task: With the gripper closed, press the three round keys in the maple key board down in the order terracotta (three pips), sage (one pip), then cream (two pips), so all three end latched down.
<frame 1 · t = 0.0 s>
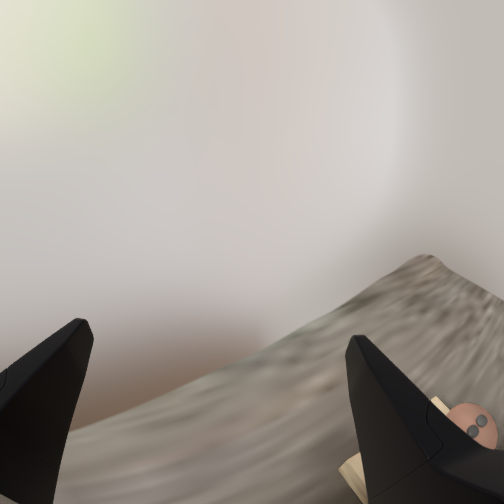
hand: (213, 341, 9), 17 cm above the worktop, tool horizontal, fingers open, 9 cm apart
key three: (452, 449, 14), point 5 cm above the worktop, slide at 0.0 cm
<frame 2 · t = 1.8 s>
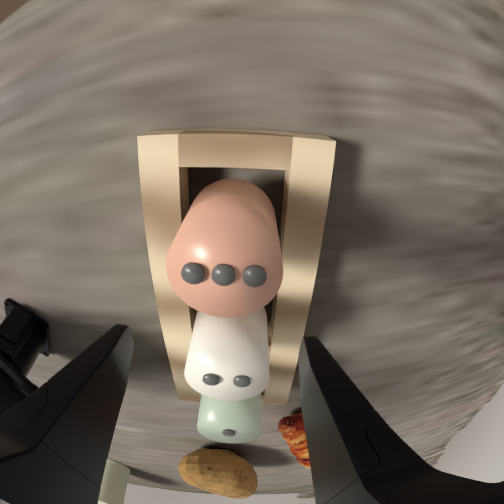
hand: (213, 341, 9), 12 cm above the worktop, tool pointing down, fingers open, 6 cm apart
potato: (220, 450, 40), on the worktop
key board: (233, 295, 23), on the worktop
key one: (230, 404, 22), point 5 cm above the worktop, slide at 0.0 cm
can: (112, 463, 51), on the worktop
key two: (229, 346, 19), point 5 cm above the worktop, slide at 0.0 cm
croissant: (324, 428, 36), on the worktop
key three: (228, 243, 15), point 5 cm above the worktop, slide at 0.0 cm
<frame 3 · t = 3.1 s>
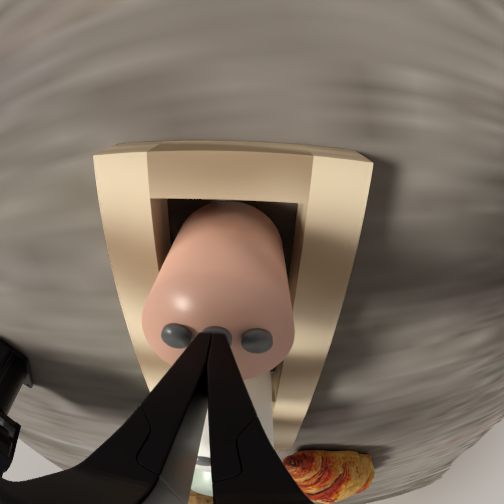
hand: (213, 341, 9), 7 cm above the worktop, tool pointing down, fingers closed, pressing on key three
potato: (219, 478, 36), on the worktop
key board: (230, 344, 19), on the worktop
key one: (228, 461, 18), point 5 cm above the worktop, slide at 0.0 cm
key two: (225, 417, 14), point 5 cm above the worktop, slide at 0.0 cm
croissant: (330, 459, 32), on the worktop
key three: (223, 287, 12), point 4 cm above the worktop, slide at 1.6 cm, touching gripper
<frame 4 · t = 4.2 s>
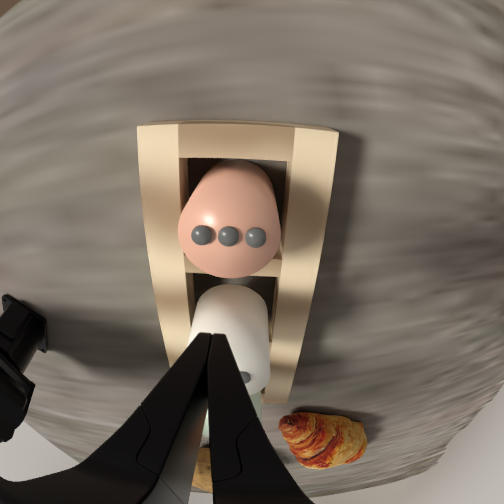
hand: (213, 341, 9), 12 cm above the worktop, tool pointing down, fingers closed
potato: (219, 449, 40), on the worktop
key board: (233, 290, 23), on the worktop
key one: (230, 402, 22), point 5 cm above the worktop, slide at 0.0 cm
key two: (228, 342, 18), point 5 cm above the worktop, slide at 0.0 cm
croissant: (325, 427, 36), on the worktop
key three: (232, 214, 17), point 3 cm above the worktop, slide at 2.6 cm
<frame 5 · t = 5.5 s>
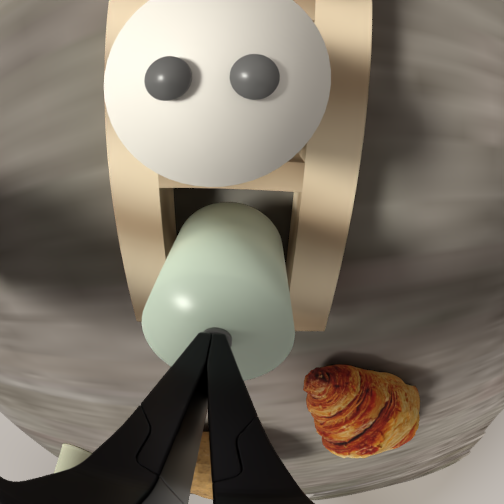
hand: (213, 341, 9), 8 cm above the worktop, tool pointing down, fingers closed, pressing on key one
potato: (213, 435, 29), on the worktop
key board: (235, 86, 12), on the worktop
key one: (223, 289, 12), point 5 cm above the worktop, slide at 0.2 cm, touching gripper
can: (84, 453, 40), on the worktop
key two: (224, 81, 8), point 5 cm above the worktop, slide at 0.0 cm
croissant: (363, 397, 25), on the worktop
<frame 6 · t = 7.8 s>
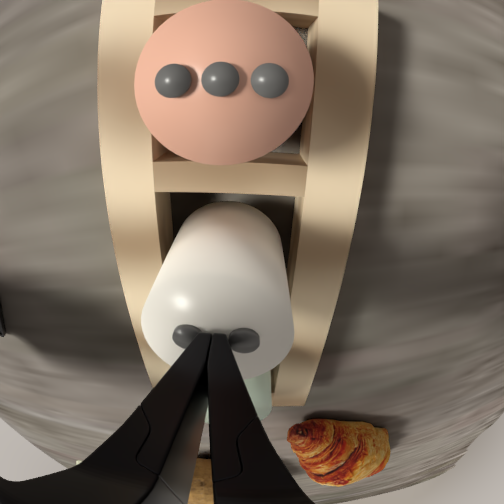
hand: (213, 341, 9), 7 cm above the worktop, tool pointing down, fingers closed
potato: (216, 459, 32), on the worktop
key board: (231, 234, 16), on the worktop
key one: (228, 370, 17), point 3 cm above the worktop, slide at 2.6 cm
key two: (223, 288, 12), point 5 cm above the worktop, slide at 0.9 cm, touching gripper
croissant: (341, 435, 29), on the worktop
key three: (229, 82, 9), point 3 cm above the worktop, slide at 2.6 cm
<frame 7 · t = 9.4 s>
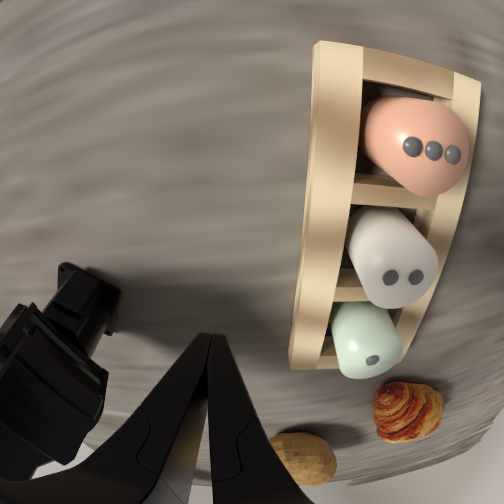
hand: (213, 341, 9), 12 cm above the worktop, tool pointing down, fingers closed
potato: (296, 434, 38), on the worktop
key board: (375, 233, 21), on the worktop
key one: (363, 334, 22), point 3 cm above the worktop, slide at 2.6 cm
key two: (388, 253, 18), point 3 cm above the worktop, slide at 2.6 cm
croissant: (404, 400, 34), on the worktop
key three: (410, 139, 14), point 3 cm above the worktop, slide at 2.6 cm
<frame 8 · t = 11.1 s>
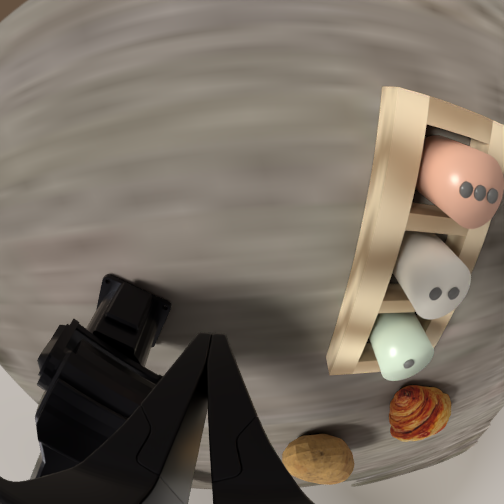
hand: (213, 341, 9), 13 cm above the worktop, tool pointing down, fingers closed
potato: (315, 436, 39), on the worktop
key board: (414, 253, 22), on the worktop
key one: (399, 341, 24), point 3 cm above the worktop, slide at 2.6 cm
key two: (428, 272, 20), point 3 cm above the worktop, slide at 2.6 cm
croissant: (415, 402, 36), on the worktop
key three: (456, 178, 16), point 3 cm above the worktop, slide at 2.6 cm
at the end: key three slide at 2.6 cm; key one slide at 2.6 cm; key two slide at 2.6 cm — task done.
